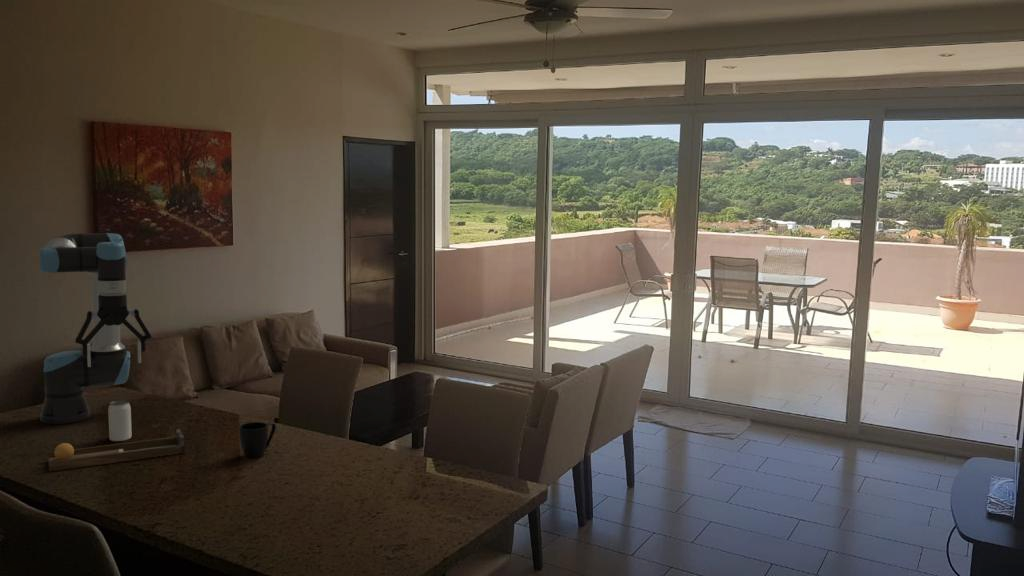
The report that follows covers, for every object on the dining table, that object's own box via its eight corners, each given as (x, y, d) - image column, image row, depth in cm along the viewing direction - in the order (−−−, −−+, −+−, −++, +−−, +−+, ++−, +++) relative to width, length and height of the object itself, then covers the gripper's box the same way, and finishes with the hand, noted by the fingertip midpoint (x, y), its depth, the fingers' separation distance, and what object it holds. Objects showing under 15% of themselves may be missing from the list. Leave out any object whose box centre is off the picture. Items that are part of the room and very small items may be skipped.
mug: (283, 452, 245) (283, 422, 244) (251, 462, 235) (250, 431, 234) (267, 446, 250) (266, 417, 248) (234, 456, 240) (233, 426, 239)
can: (125, 442, 251) (124, 405, 249) (105, 441, 251) (104, 405, 250) (135, 436, 257) (134, 400, 256) (115, 435, 257) (114, 399, 256)
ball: (54, 458, 231) (53, 442, 230) (74, 456, 233) (73, 439, 232) (54, 463, 226) (54, 447, 226) (74, 461, 229) (73, 444, 228)
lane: (48, 460, 232) (48, 444, 231) (179, 444, 250) (179, 428, 250) (48, 471, 223) (48, 454, 223) (184, 453, 242) (184, 437, 241)
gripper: (64, 297, 224) (67, 370, 227) (159, 293, 237) (161, 362, 239) (64, 294, 231) (67, 365, 233) (156, 291, 243) (158, 358, 246)
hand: (114, 364), depth 236 cm, fingers open, 13 cm apart
